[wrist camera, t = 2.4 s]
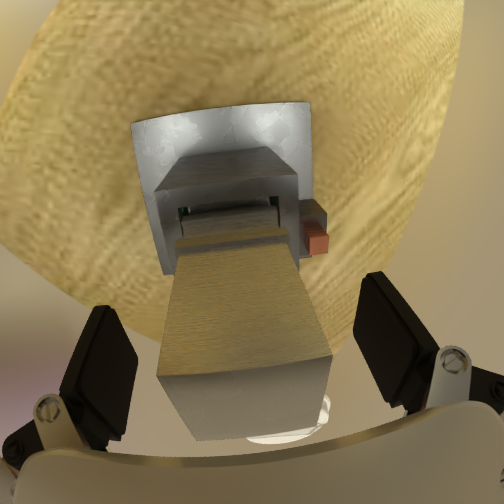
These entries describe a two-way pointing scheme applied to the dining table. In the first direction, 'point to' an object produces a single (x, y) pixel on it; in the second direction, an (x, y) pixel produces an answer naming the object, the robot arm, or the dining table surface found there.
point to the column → (241, 327)
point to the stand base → (230, 170)
